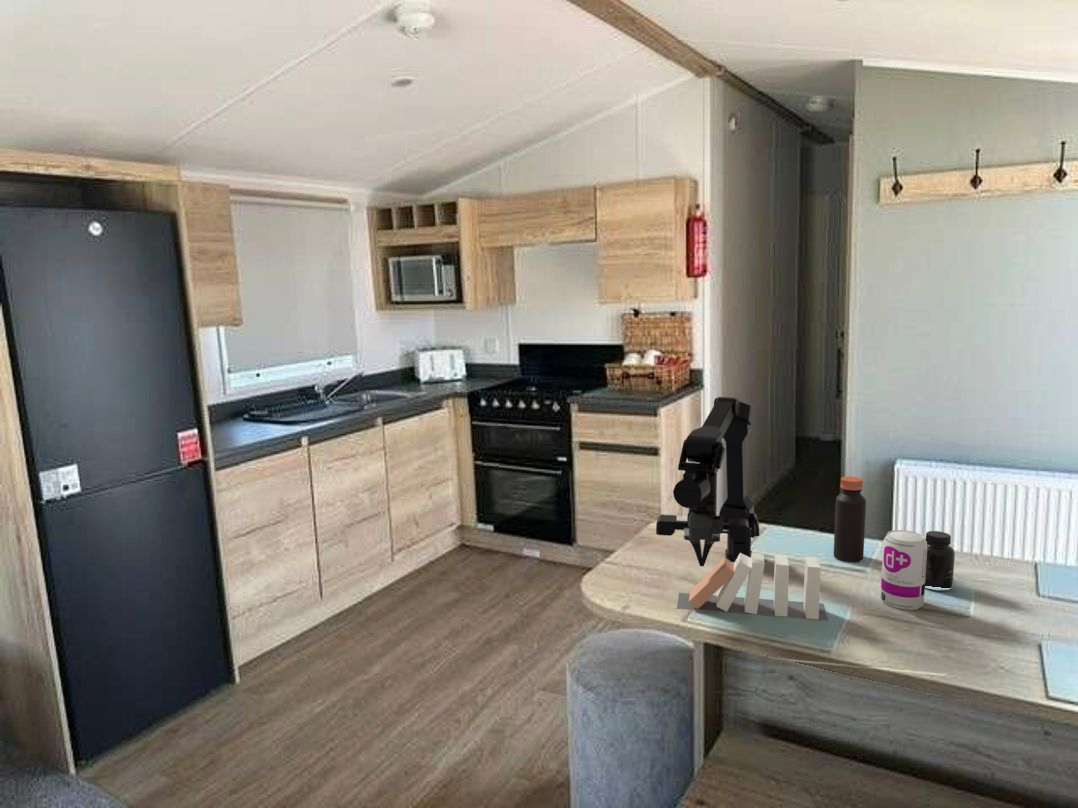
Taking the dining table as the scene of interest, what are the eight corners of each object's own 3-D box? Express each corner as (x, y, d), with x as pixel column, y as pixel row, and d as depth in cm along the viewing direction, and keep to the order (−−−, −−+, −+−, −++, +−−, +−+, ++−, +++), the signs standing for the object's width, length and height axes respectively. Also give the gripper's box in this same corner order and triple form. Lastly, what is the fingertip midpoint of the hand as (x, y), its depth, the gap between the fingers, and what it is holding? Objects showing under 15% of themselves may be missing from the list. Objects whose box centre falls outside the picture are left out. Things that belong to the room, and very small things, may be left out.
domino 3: (775, 615, 153) (776, 564, 151) (773, 604, 158) (774, 554, 156) (787, 616, 152) (788, 565, 150) (785, 605, 157) (786, 555, 156)
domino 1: (716, 606, 155) (740, 562, 153) (716, 595, 161) (740, 552, 158) (726, 611, 155) (751, 568, 152) (727, 600, 160) (750, 557, 158)
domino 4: (806, 618, 151) (807, 566, 149) (803, 606, 157) (805, 556, 155) (818, 619, 151) (820, 567, 149) (815, 607, 156) (817, 557, 154)
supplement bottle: (956, 593, 162) (960, 540, 160) (922, 591, 163) (926, 538, 161) (946, 580, 168) (950, 529, 166) (913, 578, 170) (916, 528, 168)
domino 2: (744, 612, 154) (752, 562, 152) (744, 600, 159) (751, 552, 157) (756, 614, 154) (764, 564, 151) (755, 602, 159) (763, 554, 157)
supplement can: (906, 615, 152) (910, 545, 150) (871, 600, 159) (875, 533, 157) (932, 606, 156) (936, 538, 153) (897, 592, 163) (901, 526, 160)
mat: (679, 594, 165) (679, 592, 165) (823, 605, 158) (823, 603, 158) (676, 609, 157) (676, 608, 157) (828, 622, 150) (828, 620, 150)
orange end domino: (688, 601, 157) (724, 566, 153) (690, 590, 162) (725, 556, 159) (697, 609, 156) (733, 574, 153) (698, 598, 162) (733, 564, 159)
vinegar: (837, 551, 188) (840, 473, 184) (866, 556, 184) (870, 477, 180) (830, 559, 182) (833, 480, 179) (859, 565, 178) (863, 484, 175)
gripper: (653, 503, 149) (653, 577, 152) (750, 508, 145) (748, 584, 148) (658, 488, 160) (658, 557, 163) (748, 492, 156) (747, 563, 158)
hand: (701, 565), depth 158 cm, fingers closed
